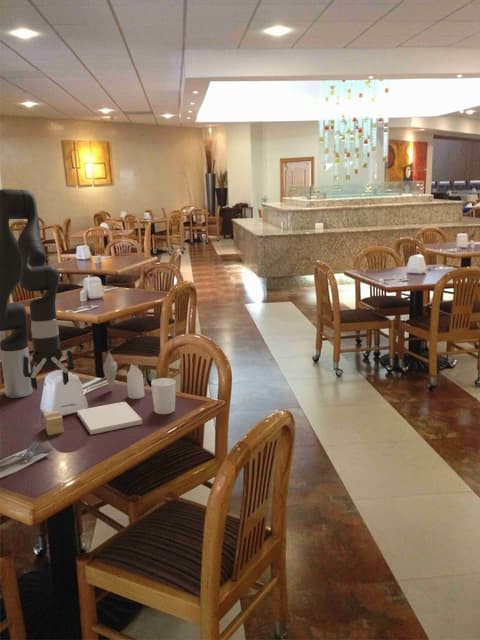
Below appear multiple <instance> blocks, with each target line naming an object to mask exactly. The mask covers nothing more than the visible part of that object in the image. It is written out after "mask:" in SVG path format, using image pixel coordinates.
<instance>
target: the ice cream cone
mask: <svg viewBox="0 0 480 640" xmlns="http://www.w3.org/2000/svg"><path fill="white" fill-rule="evenodd" d="M102 368H103V369H102V371H103V373H104V376H105V380H106V382H107V384H108V387H109V390H110V391H111V392H113V390H114V385H115V381H116V375H117V372H118V371H117V370H118V364H117V362H116V361H114V357H113V356H112V354H111V353H110V351H108V352H107V356H106V359H105V362H104V363H103V367H102Z"/></svg>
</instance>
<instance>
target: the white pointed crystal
mask: <svg viewBox="0 0 480 640" xmlns="http://www.w3.org/2000/svg"><path fill="white" fill-rule="evenodd" d="M126 383H127V384H126V388H127V395H128V396H127V397H128V398H129V399H133V400H135V399H137V400H138V399H142V398H144V397H145V386H144V376H143V372H142V371H141V370H140V369H139V368H138V366H137V367H136V365H134V364H133V363H131V364H130V368H129V370H128V372H127V374H126Z"/></svg>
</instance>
